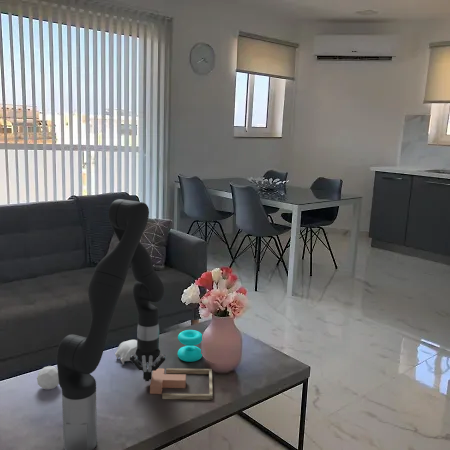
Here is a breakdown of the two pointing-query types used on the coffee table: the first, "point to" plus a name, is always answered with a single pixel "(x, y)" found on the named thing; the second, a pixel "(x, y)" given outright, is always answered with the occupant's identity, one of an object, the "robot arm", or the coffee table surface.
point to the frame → (190, 396)
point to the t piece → (166, 381)
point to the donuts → (190, 345)
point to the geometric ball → (48, 377)
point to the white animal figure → (126, 350)
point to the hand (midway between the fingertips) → (147, 380)
